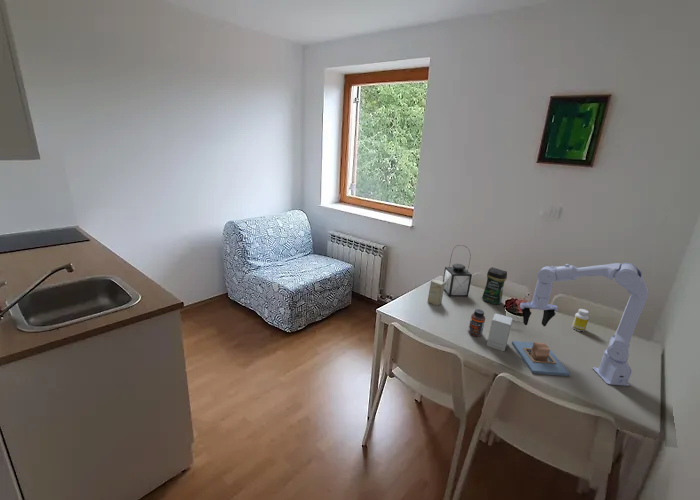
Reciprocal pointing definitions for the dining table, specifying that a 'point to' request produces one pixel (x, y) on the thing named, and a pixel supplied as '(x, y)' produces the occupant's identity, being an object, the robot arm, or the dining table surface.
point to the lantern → (457, 280)
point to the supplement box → (499, 332)
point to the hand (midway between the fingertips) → (534, 324)
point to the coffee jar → (494, 285)
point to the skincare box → (436, 292)
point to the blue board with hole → (540, 366)
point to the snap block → (540, 352)
